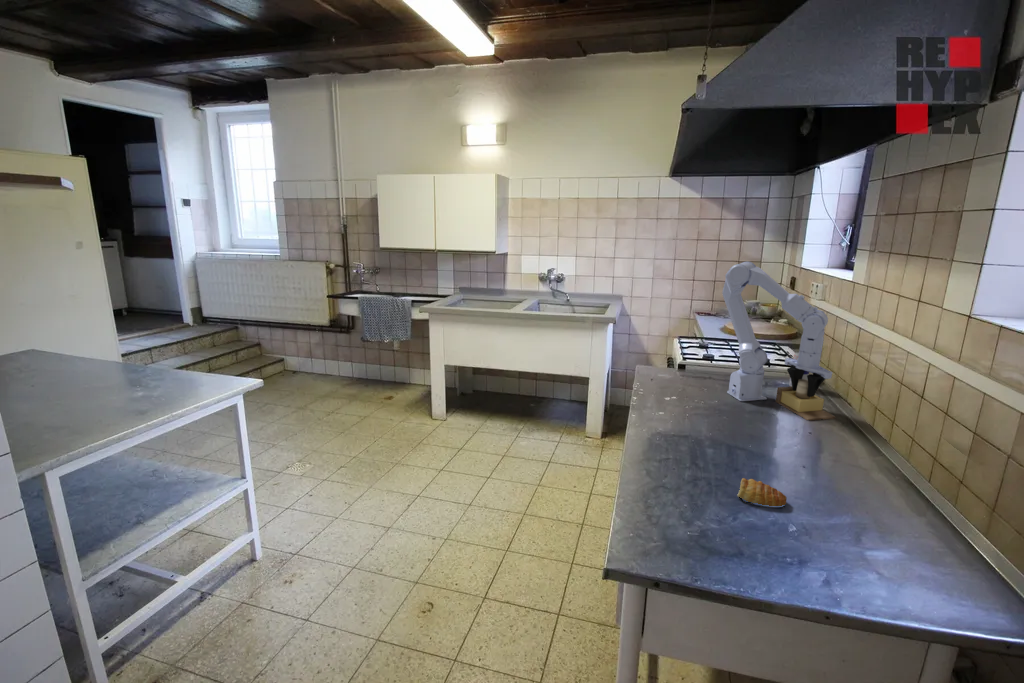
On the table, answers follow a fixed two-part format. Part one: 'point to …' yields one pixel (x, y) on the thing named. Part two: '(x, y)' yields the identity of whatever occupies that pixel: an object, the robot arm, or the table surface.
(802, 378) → the energy drink
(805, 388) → the birch dowel
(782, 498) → the pastry
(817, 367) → the robot arm
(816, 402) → the socket block
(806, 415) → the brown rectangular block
